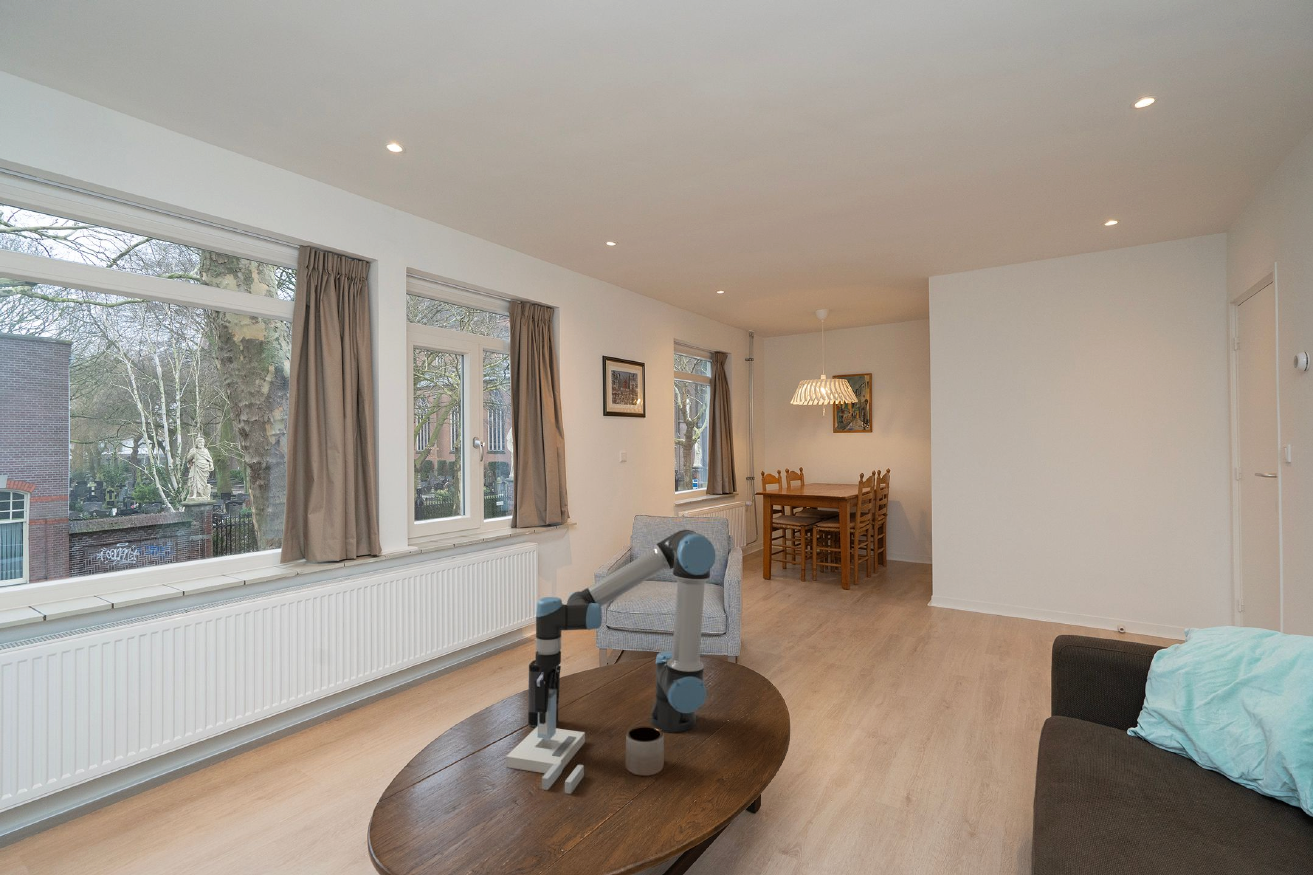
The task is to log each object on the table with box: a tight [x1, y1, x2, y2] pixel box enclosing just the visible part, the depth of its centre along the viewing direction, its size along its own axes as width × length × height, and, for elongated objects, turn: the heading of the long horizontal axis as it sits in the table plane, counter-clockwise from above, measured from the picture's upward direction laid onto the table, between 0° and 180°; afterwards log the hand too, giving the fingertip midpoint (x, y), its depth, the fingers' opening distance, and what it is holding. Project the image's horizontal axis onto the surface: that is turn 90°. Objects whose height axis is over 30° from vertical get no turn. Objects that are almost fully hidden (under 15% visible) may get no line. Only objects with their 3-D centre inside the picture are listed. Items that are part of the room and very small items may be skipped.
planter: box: [625, 724, 665, 777], centre depth 173 cm, size 11×11×10 cm
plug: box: [537, 688, 557, 739], centre depth 180 cm, size 4×4×13 cm
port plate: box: [505, 726, 586, 774], centre depth 180 cm, size 16×20×3 cm
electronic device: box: [527, 659, 560, 728], centre depth 200 cm, size 9×6×20 cm, turn 84°
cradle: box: [541, 762, 585, 795], centre depth 164 cm, size 8×9×3 cm
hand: (546, 729), depth 180 cm, fingers closed on plug, 4 cm apart
